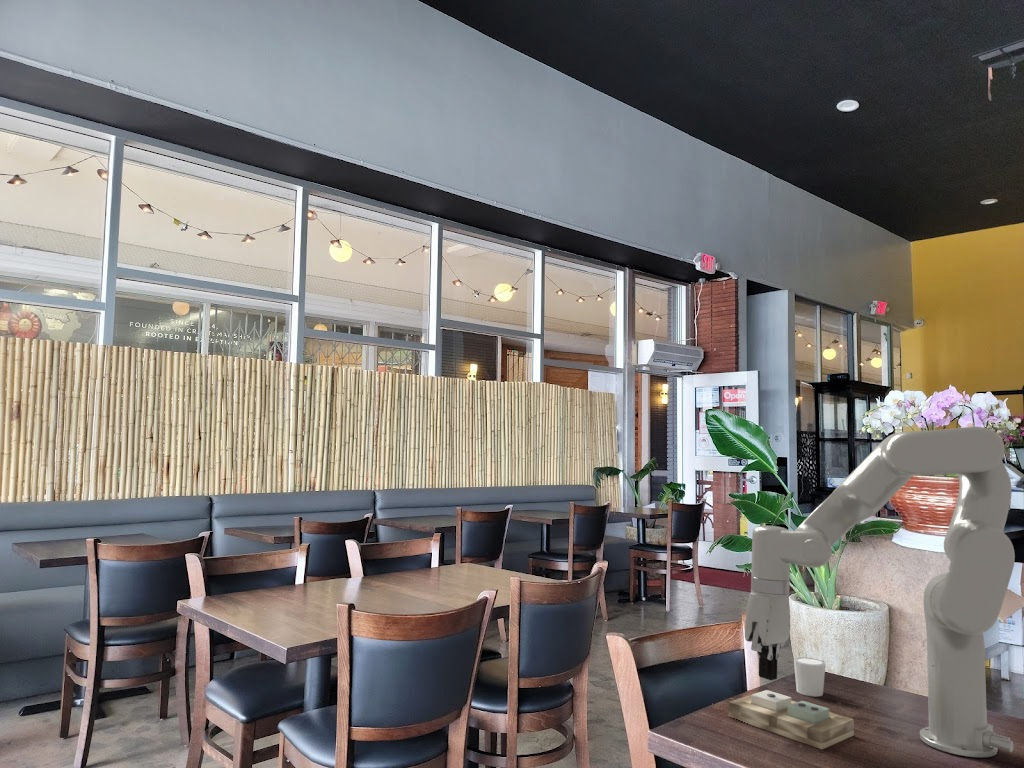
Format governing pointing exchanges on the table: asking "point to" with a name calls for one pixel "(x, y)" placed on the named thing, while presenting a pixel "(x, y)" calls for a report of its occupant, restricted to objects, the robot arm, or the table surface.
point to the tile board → (793, 724)
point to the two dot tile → (808, 712)
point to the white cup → (809, 676)
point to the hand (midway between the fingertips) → (767, 677)
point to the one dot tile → (770, 700)
